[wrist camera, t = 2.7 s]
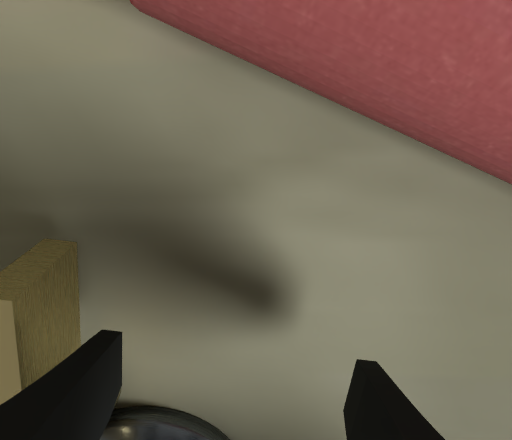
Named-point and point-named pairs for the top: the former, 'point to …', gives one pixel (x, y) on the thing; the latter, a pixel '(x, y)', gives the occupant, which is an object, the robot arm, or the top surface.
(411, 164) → the top surface
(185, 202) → the top surface
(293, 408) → the top surface
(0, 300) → the brass knob
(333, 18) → the blood vessel
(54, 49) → the top surface
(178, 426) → the base
